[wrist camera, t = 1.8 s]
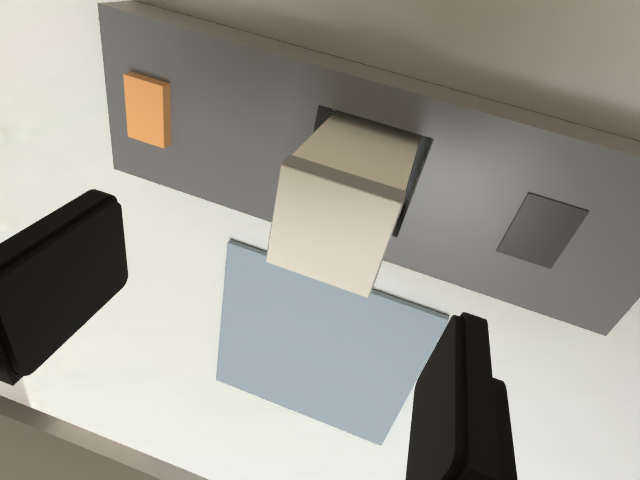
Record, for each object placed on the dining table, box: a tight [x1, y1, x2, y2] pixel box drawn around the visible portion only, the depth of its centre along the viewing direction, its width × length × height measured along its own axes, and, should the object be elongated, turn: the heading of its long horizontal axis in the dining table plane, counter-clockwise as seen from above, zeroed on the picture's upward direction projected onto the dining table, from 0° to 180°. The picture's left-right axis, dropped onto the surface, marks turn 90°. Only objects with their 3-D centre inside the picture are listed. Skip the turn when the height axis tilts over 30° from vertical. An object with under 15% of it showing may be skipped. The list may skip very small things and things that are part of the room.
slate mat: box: [216, 240, 449, 445], centre depth 29 cm, size 14×14×1 cm
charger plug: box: [266, 110, 421, 298], centre depth 17 cm, size 4×4×8 cm
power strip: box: [98, 1, 640, 336], centre depth 19 cm, size 26×8×3 cm, turn 79°
